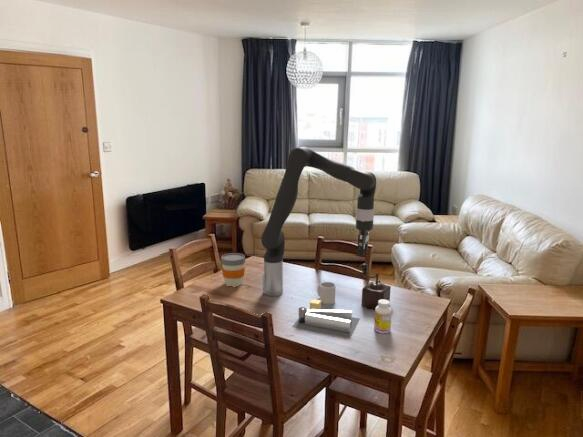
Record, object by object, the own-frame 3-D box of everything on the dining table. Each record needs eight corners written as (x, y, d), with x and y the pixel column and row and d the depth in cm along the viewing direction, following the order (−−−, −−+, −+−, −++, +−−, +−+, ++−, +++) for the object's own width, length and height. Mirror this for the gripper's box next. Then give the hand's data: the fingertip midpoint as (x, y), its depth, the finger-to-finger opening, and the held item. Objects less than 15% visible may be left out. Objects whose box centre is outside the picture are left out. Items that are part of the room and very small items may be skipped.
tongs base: (296, 323, 181) (297, 310, 179) (300, 319, 184) (300, 306, 183) (348, 333, 173) (349, 319, 171) (351, 328, 176) (351, 315, 175)
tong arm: (306, 320, 182) (307, 311, 181) (307, 318, 184) (307, 309, 183) (351, 322, 181) (351, 312, 180) (351, 319, 183) (351, 310, 182)
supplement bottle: (372, 326, 180) (373, 298, 177) (387, 325, 180) (389, 297, 177) (376, 334, 173) (378, 305, 170) (392, 333, 174) (394, 304, 171)
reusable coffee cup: (216, 285, 222) (215, 257, 218) (232, 277, 232) (231, 251, 229) (235, 290, 216) (234, 262, 212) (250, 282, 226) (250, 255, 222)
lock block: (309, 315, 188) (309, 302, 187) (312, 311, 192) (312, 298, 190) (318, 316, 187) (318, 304, 185) (320, 312, 190) (321, 300, 189)
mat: (291, 328, 178) (291, 326, 178) (305, 310, 194) (305, 309, 194) (350, 339, 169) (350, 338, 169) (360, 319, 185) (360, 318, 185)
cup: (327, 307, 198) (328, 289, 196) (312, 300, 205) (312, 282, 203) (338, 302, 202) (338, 285, 200) (322, 296, 210) (323, 279, 207)
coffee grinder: (390, 304, 201) (393, 268, 197) (382, 312, 192) (384, 275, 188) (360, 296, 210) (362, 261, 205) (350, 304, 201) (352, 268, 196)
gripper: (359, 214, 193) (357, 248, 197) (352, 221, 181) (351, 257, 184) (376, 215, 191) (374, 249, 195) (370, 222, 178) (368, 259, 182)
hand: (363, 253), depth 190 cm, fingers open, 8 cm apart
